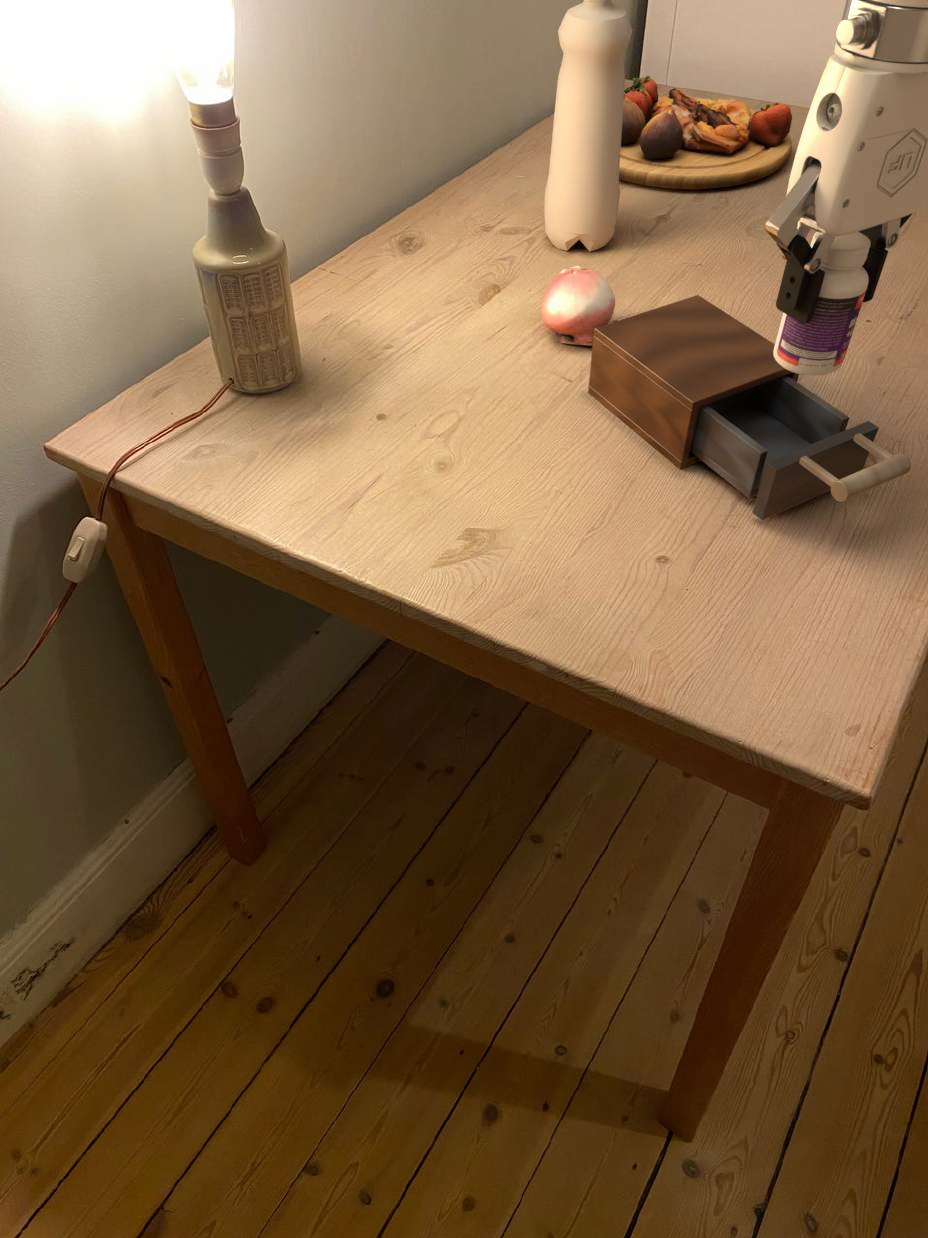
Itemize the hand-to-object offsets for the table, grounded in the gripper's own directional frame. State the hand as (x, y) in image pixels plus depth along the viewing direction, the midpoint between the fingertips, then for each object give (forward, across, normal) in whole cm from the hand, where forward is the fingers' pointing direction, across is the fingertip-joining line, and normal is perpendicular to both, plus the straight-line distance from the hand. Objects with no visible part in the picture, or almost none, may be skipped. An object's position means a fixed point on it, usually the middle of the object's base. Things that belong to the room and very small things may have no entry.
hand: (823, 302), depth 69 cm
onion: (+17, 0, +30) cm, 35 cm away
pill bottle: (+5, 0, 0) cm, 5 cm away
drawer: (+16, +1, 0) cm, 16 cm away
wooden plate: (+17, +43, +66) cm, 81 cm away
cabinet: (+17, +1, +13) cm, 22 cm away
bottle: (+17, +13, +49) cm, 54 cm away
